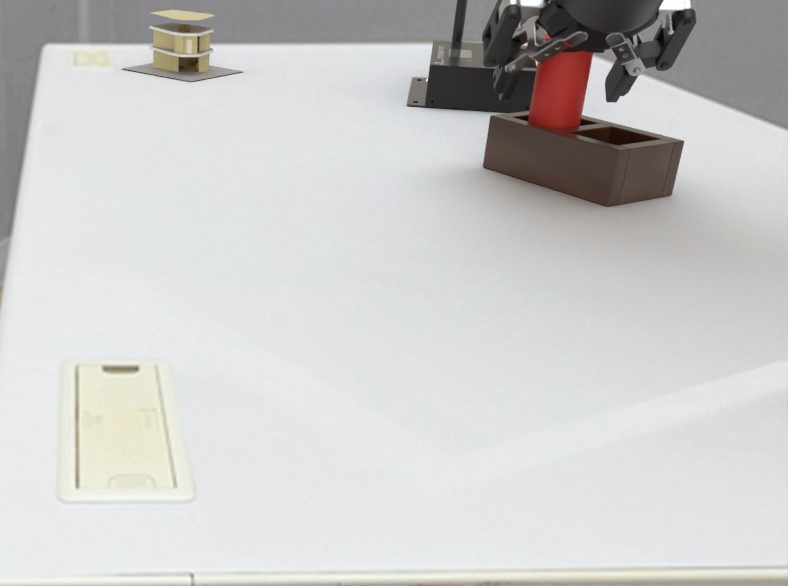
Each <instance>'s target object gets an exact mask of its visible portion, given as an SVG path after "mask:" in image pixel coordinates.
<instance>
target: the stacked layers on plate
mask: <svg viewBox="0 0 788 586" xmlns="http://www.w3.org/2000/svg"><path fill="white" fill-rule="evenodd" d="M150 14H153V15H157V16H160V17H164V18H168V19H172V20H180V21H202V20H205V19H209V18H213V17H215V15H214V14H212V13H205V12H196V11H188V10H179V9H167V10H160V11H152V12H150ZM149 30H153V31H152V32H153V34H152V35H153V38H152V39H153V41H152V42H153V43H152V44H153V45H149V50H152V51H153V53H152V54H153V55H152V57H153V58H152V62H151V63H144V64H138V65H133V66H127V67H121V68H120V69H122V70H127V71H132V72H137V73H142V74H149V75H153V76H160V77H163V78H164V77H165V78H171V79H174V80H176V79H177V80H180V81H181V80H182V81H186V82H196V81H201V80H206V79H210V78H217V77H223V76H226V75H232V74H236V73H243V72H244V70H238V69H232V68H228V67H223V66H216V65H210V54H212V53H214V48H212V47H211V33H214V32H215V28H214V27H212V26H205V25H198V24H191V23H190V24H189V23H180V22H166V23H160V24H159V23H158V24H151V25H149Z"/></svg>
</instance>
